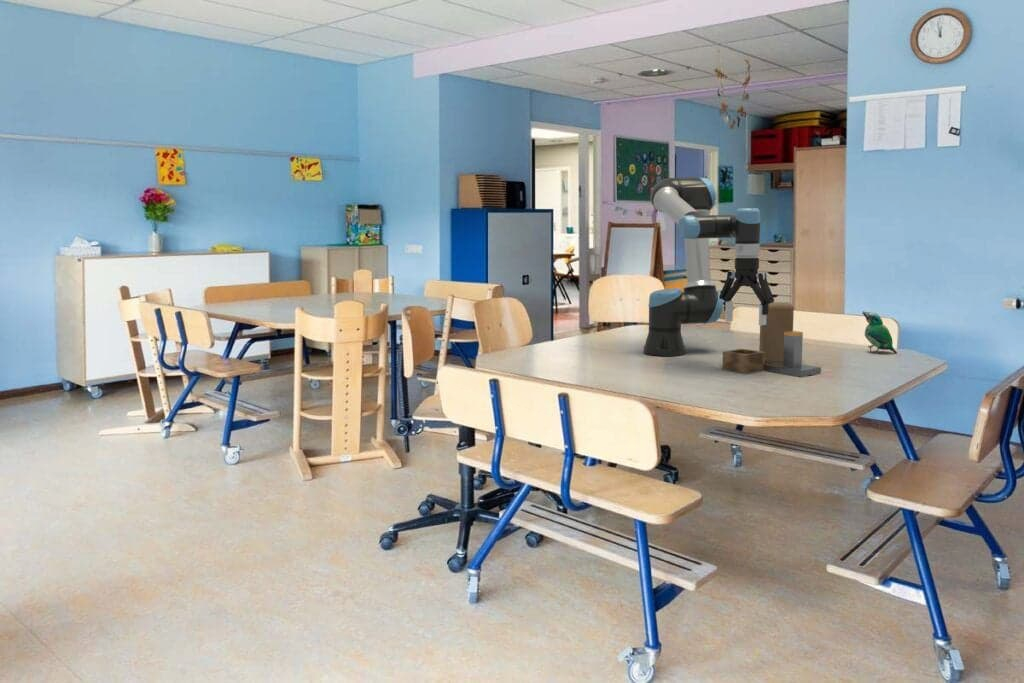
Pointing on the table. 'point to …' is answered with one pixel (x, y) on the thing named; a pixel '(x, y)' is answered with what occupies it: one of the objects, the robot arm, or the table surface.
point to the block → (776, 330)
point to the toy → (877, 332)
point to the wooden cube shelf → (743, 361)
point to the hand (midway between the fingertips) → (745, 323)
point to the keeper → (792, 358)
